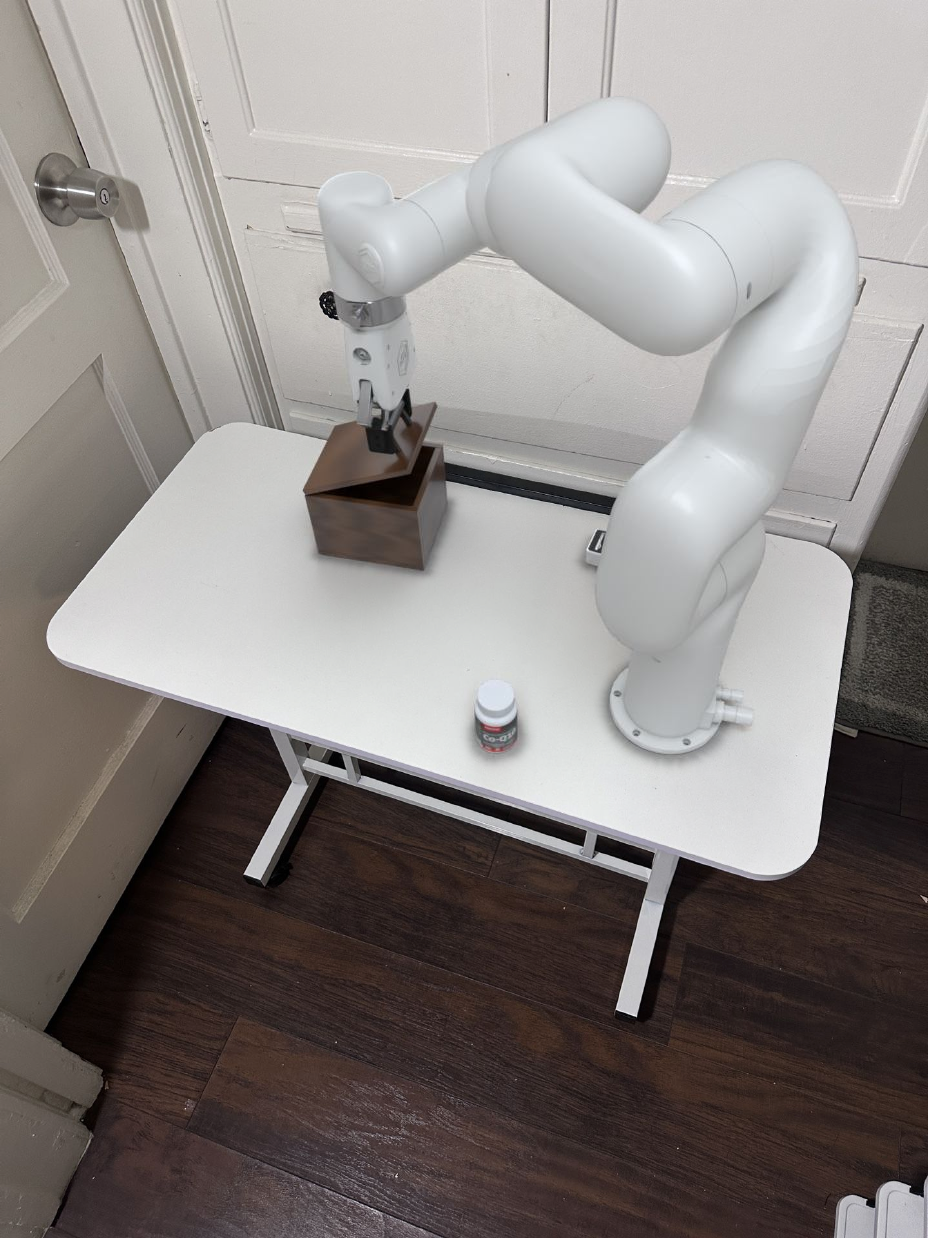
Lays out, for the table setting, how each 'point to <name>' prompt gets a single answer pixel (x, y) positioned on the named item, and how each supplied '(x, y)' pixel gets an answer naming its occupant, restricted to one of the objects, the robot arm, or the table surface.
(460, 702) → the table surface
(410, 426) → the chest lid
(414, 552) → the chest
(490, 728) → the pill bottle
